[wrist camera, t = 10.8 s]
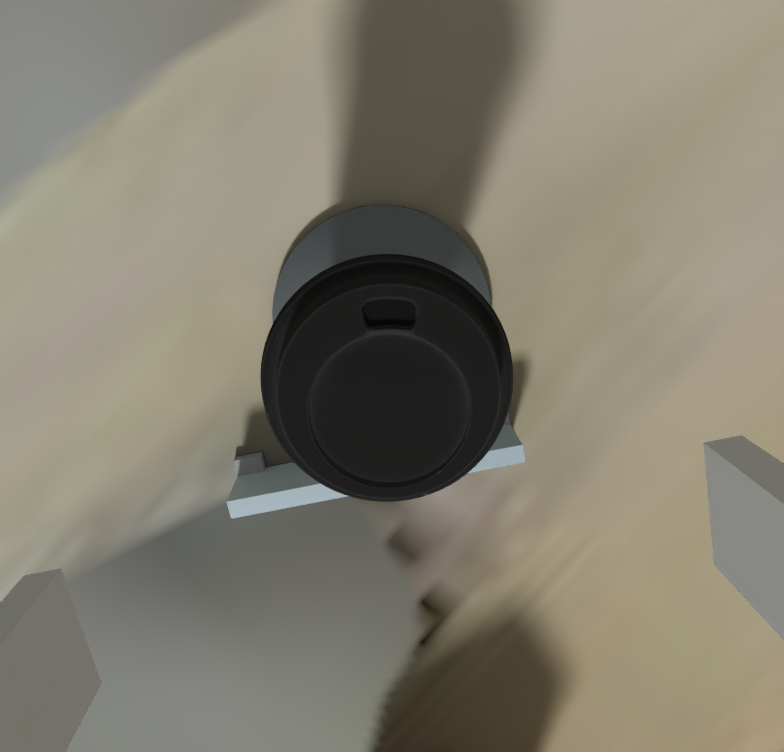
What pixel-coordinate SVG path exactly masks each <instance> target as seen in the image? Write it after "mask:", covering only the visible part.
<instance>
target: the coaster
mask: <svg viewBox="0 0 784 752" xmlns="http://www.w3.org/2000/svg"><path fill="white" fill-rule="evenodd" d="M375 254H401V255H408V256H414V257H418V258H422V259H425V260H428V261H432V262H434V263H437V264H439V265H441V266H444V267H446V268H447V269H449V270H451V271H453V272H455V273H456V274H458V275H459V276H461V277H462V278H464V279H465V280H466V281H467V282H469V283H470V284H471V285H472V286H473V287H474V288H475V289H476V290H477V291H478V292H479V293H480V294H481V295H482V296H483V297H484V298H485V299H486V301H487V302H488V303H489V304H490V306H491V301H490V294H489V289H488V285H487V281H486V279H485V276H484V273H483V271H482V268H481V266H480V265H479V263H478V261H477V259H476V257H475V256H474V254H473V253H472V251H471V250H470V249H469V247H468V246H467V245H466V244H465V242H464V241H463V240H462V239H461V238H460V237H459V236H458V235H457V234H456V233H455V232H453V231H452V230H451V229H450V228H448V227H447V226H446V225H444V224H443V223H441V222H439V221H438V220H436V219H434V218H433V217H431V216H428V215H426V214H424V213H421V212H419V211H416V210H412V209H409V208H405V207H399V206H392V205H373V206H365V207H359V208H355V209H352V210H348V211H345V212H343V213H340V214H338V215H336V216H333V217H331V218H330V219H328V220H326V221H325V222H323V223H321V224H320V225H319V226H317V227H316V228H315V229H313V230H312V231H311V232H310V233H308V234H307V235H306V236H305V238H304V239H303V240H302V241H301V242H300V243H299V244H298V245H297V246H296V248H295V249H294V250H293V252H292V253H291V254H290V256H289V258H288V259H287V261H286V263H285V265H284V267H283V269H282V271H281V274H280V276H279V279H278V281H277V285H276V289H275V294H274V300H273V323H274V321H275V319H276V317H277V316H278V314H279V312H280V311H281V309H282V308H283V307H284V305H285V304H286V302H287V301H288V300H289V299H290V298H291V297H292V295H293V294H294V293H295V292H296V291H297V290H298V289H299V288H300V287H301V286H303V285H304V284H305V283H306V282H308V281H309V280H310V279H311V278H313V277H314V276H316V275H317V274H319V273H320V272H322V271H324V270H326V269H328V268H330V267H332V266H334V265H336V264H339V263H341V262H344V261H347V260H350V259H353V258H357V257H362V256H367V255H375Z"/></svg>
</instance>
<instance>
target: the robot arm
mask: <svg viewBox="0 0 784 752" xmlns="http://www.w3.org/2000/svg"><path fill="white" fill-rule="evenodd" d="M704 454H705V465H706V477H707V489H708V501H709V512H710V524H711V536H712V548H713V559H714V565H715V566H716V567H717V568H718V569H719V571H720V572H721V573H722V574H723V575H724V576H725V577H726V578H727V579H728V580H729V581H730V583H731V584H732V585H733V586H734V587H735V588H736V589H737V590H738V591H739V592H740V593H741V595H742V596H743V597H744V598H745V599H746V600H747V601H748V602H749V603H750V604H751V605H752V606H753V608H754V609H755V610H756V611H757V612H758V613H759V614H760V615H761V616H762V617H763V618H764V620H765V621H766V622H767V623H768V624H769V625H770V626H771V627H772V628H773V629H774V630H775V632H776V633H777V634H778V635H779V636H780V637H781V638H782V639H783V640H784V463H782V462H781V461H779V460H778V459H776V458H775V457H773V456H772V455H770V454H769V453H767V452H766V451H764V450H763V449H761V448H760V447H758V446H757V445H755V444H754V443H752V442H751V441H749V440H748V439H746V438H745V437H743V436H742V435H741V436H736V437H731V438H726V439H721V440H715V441H710V442H705V443H704ZM100 685H101V680H100V678H99V675H98V672H97V669H96V666H95V664H94V661H93V658H92V655H91V652H90V649H89V646H88V644H87V641H86V638H85V635H84V632H83V629H82V627H81V624H80V621H79V618H78V615H77V612H76V610H75V607H74V604H73V601H72V599H71V596H70V593H69V590H68V587H67V584H66V581H65V579H64V576H63V573H62V570H61V569H56V570H51V571H46V572H41V573H36V574H31V575H25V576H23V577H22V579H21V580H20V581H19V582H18V583H17V584H16V586H15V587H14V588H13V589H12V590H11V591H10V592H9V594H8V595H7V596H6V597H5V598H4V599H3V601H2V602H1V603H0V752H65V751H66V750H67V748H68V746H69V744H70V742H71V740H72V738H73V736H74V734H75V732H76V730H77V729H78V727H79V725H80V723H81V721H82V719H83V717H84V715H85V713H86V711H87V709H88V707H89V706H90V704H91V702H92V700H93V698H94V696H95V694H96V692H97V690H98V688H99V686H100Z"/></svg>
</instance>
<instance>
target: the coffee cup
mask: <svg viewBox="0 0 784 752" xmlns="http://www.w3.org/2000/svg"><path fill="white" fill-rule="evenodd" d="M512 388H513V368H512V358H511V352H510V348H509V343H508V340H507V337H506V334H505V331H504V329H503V327H502V325H501V322H500V320H499V319H498V317H497V315H496V313H495V312H494V310H493V309H492V307H491V306H490V304H489V303H488V302H487V301H486V299H485V298H484V297H483V296H482V295H481V294H480V293H479V292H478V291H477V290H476V289H475V288H474V287H473V286H472V285H471V284H470V283H469V282H467V281H466V280H465V279H464V278H462V277H461V276H459V275H458V274H456V273H455V272H453V271H451V270H449V269H447V268H446V267H444V266H441V265H439V264H437V263H434V262H432V261H428V260H425V259H422V258H418V257H414V256H408V255H401V254H375V255H367V256H362V257H357V258H353V259H350V260H347V261H344V262H341V263H339V264H336V265H334V266H332V267H330V268H328V269H326V270H324V271H322V272H320V273H319V274H317V275H316V276H314V277H313V278H311V279H310V280H309V281H308V282H306V283H305V284H304V285H303V286H301V287H300V288H299V289H298V290H297V291H296V292H295V293H294V294H293V295H292V297H291V298H290V299H289V300H288V301H287V302H286V304H285V305H284V307H283V308H282V309H281V311H280V312H279V314H278V316H277V317H276V319H275V321H274V323H273V325H272V327H271V329H270V332H269V334H268V337H267V340H266V343H265V347H264V351H263V356H262V363H261V390H262V397H263V402H264V407H265V411H266V415H267V418H268V421H269V424H270V426H271V428H272V431H273V433H274V435H275V437H276V438H277V440H278V442H279V444H280V445H281V447H282V448H283V450H284V451H285V452H286V454H287V455H288V456H289V457H290V459H291V460H292V461H293V462H294V463H295V464H296V465H297V466H298V467H299V468H300V469H301V470H302V471H304V472H305V473H306V474H307V475H308V476H310V477H311V478H313V479H314V480H315V481H317V482H319V483H320V484H322V485H324V486H325V487H327V488H329V489H332V490H334V491H336V492H338V493H341V494H344V495H347V496H350V497H354V498H358V499H363V500H369V501H380V502H392V501H403V500H410V499H415V498H419V497H423V496H426V495H429V494H432V493H434V492H437V491H439V490H441V489H443V488H445V487H447V486H449V485H451V484H453V483H454V482H456V481H457V480H459V479H460V478H462V477H463V476H464V475H466V474H467V473H468V472H469V471H471V470H472V469H473V468H474V467H475V466H476V465H477V464H478V463H479V462H480V461H481V460H482V459H483V458H484V456H485V455H486V454H487V453H488V451H489V450H490V449H491V447H492V446H493V444H494V443H495V441H496V439H497V438H498V436H499V434H500V432H501V430H502V428H503V425H504V423H505V420H506V418H507V415H508V411H509V407H510V403H511V397H512Z"/></svg>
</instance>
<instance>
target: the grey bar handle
mask: <svg viewBox="0 0 784 752" xmlns="http://www.w3.org/2000/svg"><path fill="white" fill-rule="evenodd" d="M233 462H234V465H235V469H236V473H237V476H238V477H237V479H236V481H235V484H234V486H233V488H232V490H231V493H230V495H229V497H228V500H227V505H228V509H229V512H230V516H231V518H237V517H242V516H247V515H252V514H258V513H263V512H268V511H272V510H278V509H284V508H289V507H294V506H299V505H304V504H309V503H314V502H320V501H325V500H330V499H336V498H341V497H346V496H347V495H344V494H341V493H338V492H336V491H334V490H332V489H329V488H327V487H325V486H324V485H322V484H320V483H319V482H317V481H315V480H314V479H313V478H311V477H310V476H308V475H307V474H306V473H305V472H304V471H302V470H301V469H300V468H299V467H298V466H297V465H296V464H295V463H294V462H291V463H286V464H281V465H276V466H271V467H266V465H265V461H264V458H263V454H262V452H258V453H253V454H248V455H242V456H237V457H235V458H234V460H233ZM523 462H525V458H524V451H523V445H522V443H521V441H520V440H519V438H518V436H517V435H516V433H515V431H514V430H513V428H512V426H511V425H510V420H509V414H508V415H507V418H506V420H505V423H504V425H503V428H502V430H501V432H500V434H499V436H498V438H497V439H496V441H495V443H494V444H493V446H492V447H491V449H490V450H489V451H488V453H487V454H486V455H485V456H484V458H483V459H482V460H481V461H480V462H479V463H478V464H477V465H476V466H475V467H474V468H473V469H472V470H471V471H469V472H468V473H471V472H476V471H481V470H487V469H492V468H497V467H502V466H508V465H513V464H518V463H523Z"/></svg>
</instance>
